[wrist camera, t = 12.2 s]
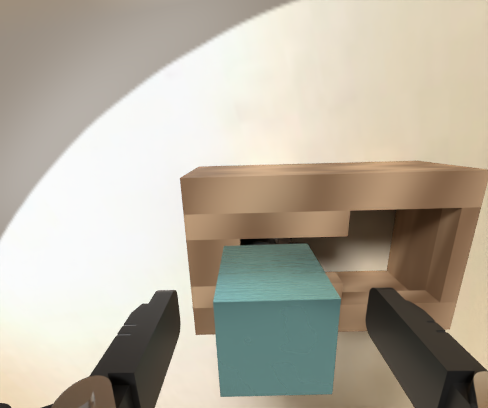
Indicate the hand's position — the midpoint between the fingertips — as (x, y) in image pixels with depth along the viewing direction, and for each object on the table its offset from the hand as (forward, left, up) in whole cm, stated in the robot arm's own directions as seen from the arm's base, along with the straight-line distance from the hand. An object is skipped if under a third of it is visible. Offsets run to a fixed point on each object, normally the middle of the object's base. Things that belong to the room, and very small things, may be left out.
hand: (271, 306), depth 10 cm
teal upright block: (0, 0, -9) cm, 9 cm away
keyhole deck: (-4, 0, -9) cm, 10 cm away
